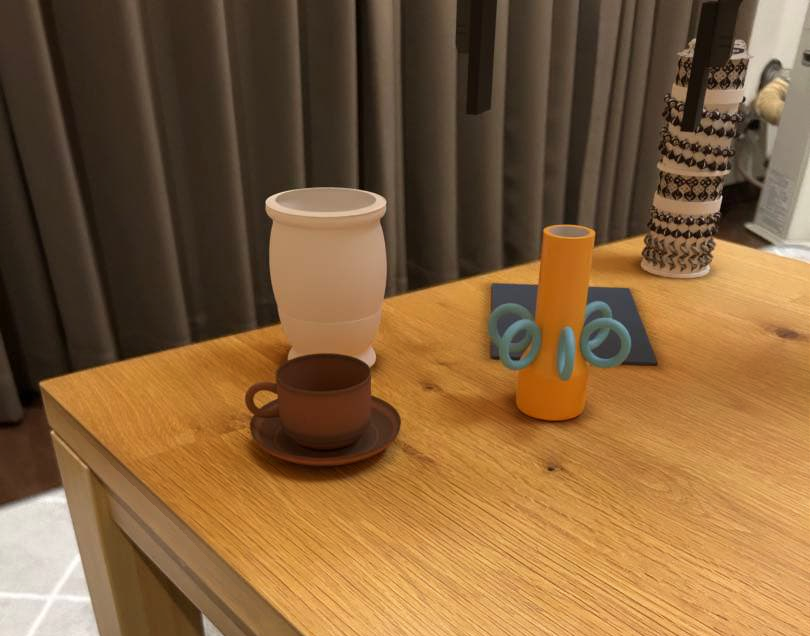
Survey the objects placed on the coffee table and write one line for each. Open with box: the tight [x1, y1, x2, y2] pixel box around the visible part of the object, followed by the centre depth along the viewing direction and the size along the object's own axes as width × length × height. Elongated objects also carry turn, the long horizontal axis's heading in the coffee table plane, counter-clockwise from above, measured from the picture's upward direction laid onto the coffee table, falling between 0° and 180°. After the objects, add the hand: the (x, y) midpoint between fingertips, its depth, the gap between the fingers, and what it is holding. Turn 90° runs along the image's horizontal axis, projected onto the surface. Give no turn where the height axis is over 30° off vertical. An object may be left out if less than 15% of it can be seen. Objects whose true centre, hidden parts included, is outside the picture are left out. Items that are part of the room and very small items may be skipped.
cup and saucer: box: [244, 353, 402, 467], centre depth 68 cm, size 12×12×6 cm
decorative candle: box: [640, 37, 755, 279], centre depth 102 cm, size 9×9×25 cm
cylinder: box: [487, 224, 631, 421], centre depth 72 cm, size 12×10×15 cm
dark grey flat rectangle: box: [490, 282, 659, 367], centre depth 93 cm, size 22×16×1 cm
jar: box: [265, 187, 388, 368], centre depth 79 cm, size 11×10×15 cm
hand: (579, 120), depth 55 cm, fingers open, 13 cm apart
